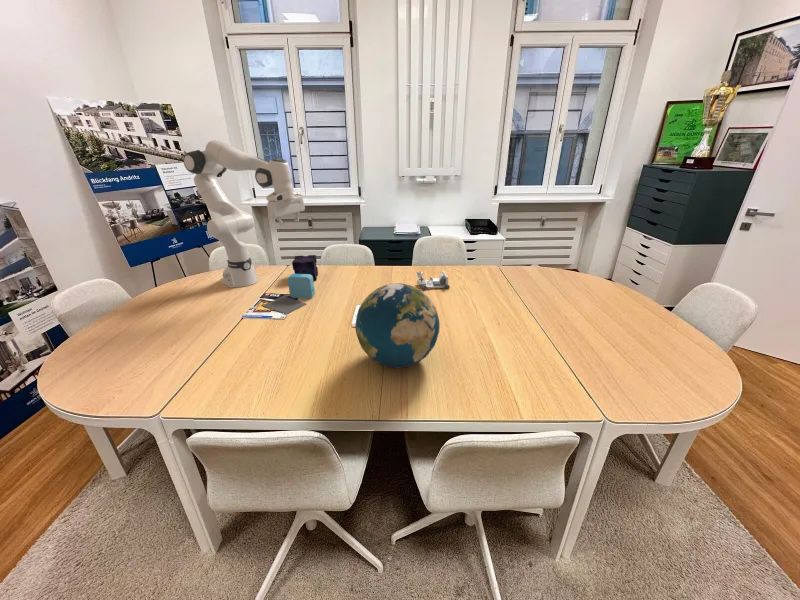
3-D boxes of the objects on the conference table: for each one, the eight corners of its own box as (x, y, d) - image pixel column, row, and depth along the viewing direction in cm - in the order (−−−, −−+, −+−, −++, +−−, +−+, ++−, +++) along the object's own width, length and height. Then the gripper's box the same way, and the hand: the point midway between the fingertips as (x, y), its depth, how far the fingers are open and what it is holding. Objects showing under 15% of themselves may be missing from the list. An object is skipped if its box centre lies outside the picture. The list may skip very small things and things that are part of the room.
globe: (363, 338, 145) (359, 271, 132) (435, 338, 144) (438, 271, 131) (352, 385, 118) (345, 306, 105) (440, 386, 117) (444, 306, 104)
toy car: (417, 274, 184) (414, 266, 194) (416, 291, 188) (414, 283, 198) (450, 272, 185) (445, 265, 196) (449, 289, 190) (445, 281, 200)
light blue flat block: (315, 295, 184) (312, 274, 179) (312, 298, 180) (309, 277, 175) (293, 294, 186) (290, 273, 180) (290, 298, 181) (286, 276, 176)
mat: (263, 306, 173) (262, 305, 173) (283, 296, 183) (283, 296, 183) (286, 314, 165) (286, 313, 165) (306, 304, 174) (306, 303, 174)
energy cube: (298, 274, 212) (295, 255, 206) (318, 273, 213) (315, 254, 208) (295, 282, 201) (291, 262, 196) (316, 281, 202) (313, 261, 197)
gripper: (296, 191, 177) (301, 218, 183) (263, 197, 162) (268, 226, 168) (305, 192, 174) (309, 219, 180) (271, 198, 159) (277, 228, 165)
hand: (289, 223), depth 174 cm, fingers open, 8 cm apart
